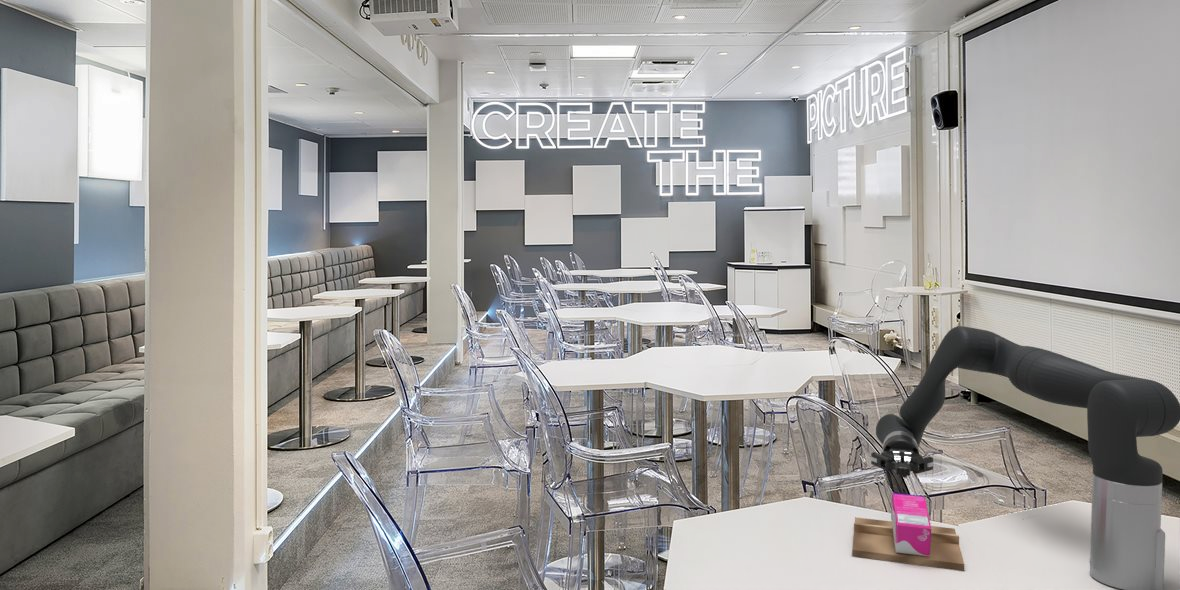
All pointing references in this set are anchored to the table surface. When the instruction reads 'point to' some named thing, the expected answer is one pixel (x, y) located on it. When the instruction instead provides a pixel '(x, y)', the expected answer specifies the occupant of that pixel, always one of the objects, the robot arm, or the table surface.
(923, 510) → the supplement box
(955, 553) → the tan wooden board
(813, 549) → the table surface
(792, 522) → the table surface
